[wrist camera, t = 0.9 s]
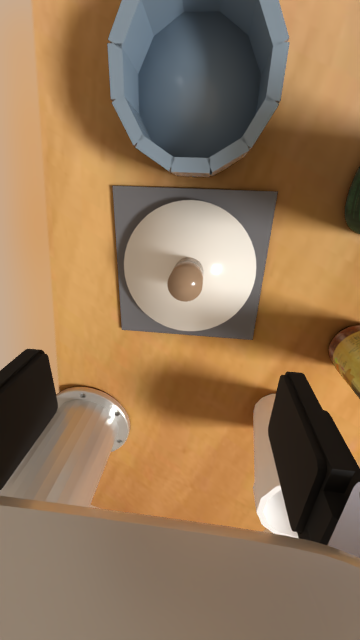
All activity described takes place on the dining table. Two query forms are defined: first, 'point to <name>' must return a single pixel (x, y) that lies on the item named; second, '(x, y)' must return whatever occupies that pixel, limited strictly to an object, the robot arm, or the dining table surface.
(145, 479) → the dining table surface
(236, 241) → the lid
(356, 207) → the coffee jar
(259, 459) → the foam cup
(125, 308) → the mat
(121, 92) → the bowl
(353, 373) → the sauce bottle
